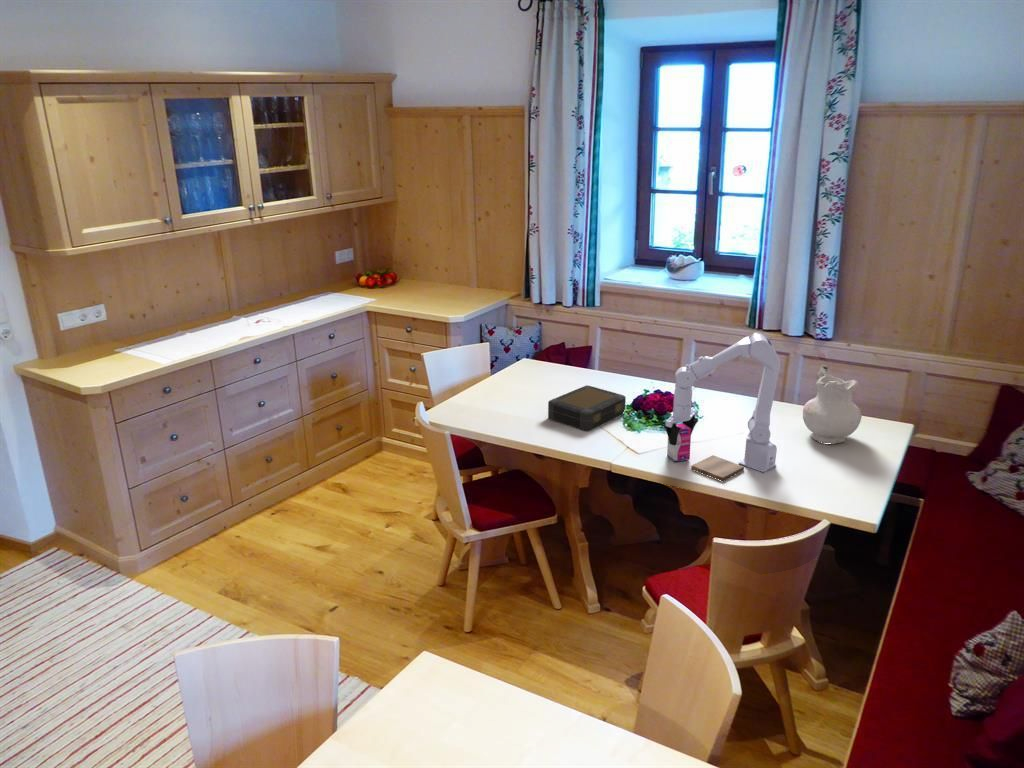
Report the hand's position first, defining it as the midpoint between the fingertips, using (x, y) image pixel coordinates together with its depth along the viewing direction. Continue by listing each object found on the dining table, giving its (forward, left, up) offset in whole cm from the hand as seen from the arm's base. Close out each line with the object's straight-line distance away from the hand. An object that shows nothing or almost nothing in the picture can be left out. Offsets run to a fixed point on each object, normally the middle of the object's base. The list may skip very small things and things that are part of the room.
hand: (679, 441), depth 264 cm
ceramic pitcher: (-25, -54, -7) cm, 60 cm away
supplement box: (0, 0, -6) cm, 6 cm away
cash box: (+48, -6, -7) cm, 48 cm away
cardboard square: (-14, -2, -7) cm, 16 cm away
